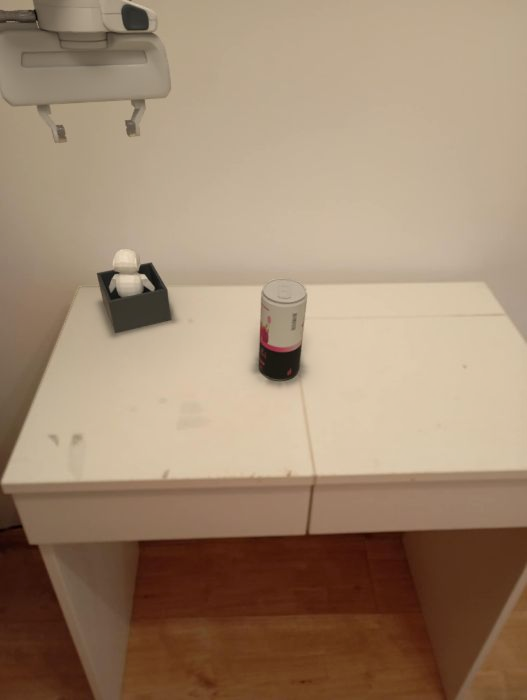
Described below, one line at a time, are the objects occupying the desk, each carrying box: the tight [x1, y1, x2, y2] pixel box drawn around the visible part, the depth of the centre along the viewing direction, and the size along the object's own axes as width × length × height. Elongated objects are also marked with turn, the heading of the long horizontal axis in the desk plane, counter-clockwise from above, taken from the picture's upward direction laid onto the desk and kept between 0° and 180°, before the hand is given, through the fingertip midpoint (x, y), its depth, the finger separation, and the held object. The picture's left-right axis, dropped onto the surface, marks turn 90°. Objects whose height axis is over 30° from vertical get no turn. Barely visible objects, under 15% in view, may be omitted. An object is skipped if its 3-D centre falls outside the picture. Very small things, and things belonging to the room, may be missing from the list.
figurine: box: [109, 248, 155, 298], centre depth 82 cm, size 8×5×12 cm, turn 93°
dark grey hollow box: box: [96, 262, 172, 334], centre depth 84 cm, size 10×10×6 cm
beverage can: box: [258, 277, 308, 381], centre depth 71 cm, size 7×7×15 cm
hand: (98, 138), depth 62 cm, fingers open, 8 cm apart
